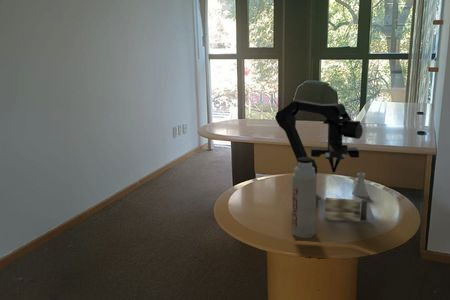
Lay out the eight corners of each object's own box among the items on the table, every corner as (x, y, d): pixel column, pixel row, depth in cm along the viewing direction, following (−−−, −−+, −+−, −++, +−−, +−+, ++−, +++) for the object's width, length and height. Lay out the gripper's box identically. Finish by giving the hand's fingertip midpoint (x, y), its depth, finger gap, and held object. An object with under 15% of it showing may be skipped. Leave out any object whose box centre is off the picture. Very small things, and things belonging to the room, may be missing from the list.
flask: (366, 192, 178) (367, 171, 175) (370, 199, 171) (371, 176, 168) (349, 192, 179) (350, 171, 176) (352, 198, 172) (354, 176, 169)
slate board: (319, 222, 151) (319, 219, 150) (317, 201, 170) (318, 199, 169) (375, 225, 147) (376, 222, 147) (367, 203, 166) (367, 201, 166)
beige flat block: (359, 214, 153) (359, 200, 151) (359, 216, 151) (360, 201, 150) (325, 212, 156) (325, 197, 155) (325, 213, 155) (325, 199, 153)
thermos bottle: (295, 241, 137) (296, 162, 130) (289, 230, 145) (290, 155, 138) (317, 239, 138) (320, 161, 131) (311, 229, 146) (313, 154, 138)
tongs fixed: (365, 217, 151) (366, 200, 149) (367, 221, 148) (368, 203, 146) (324, 215, 154) (325, 198, 152) (325, 219, 151) (325, 202, 149)
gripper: (311, 139, 156) (310, 177, 160) (362, 140, 153) (359, 179, 157) (311, 133, 167) (310, 169, 171) (358, 133, 163) (356, 170, 167)
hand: (333, 172), depth 166 cm, fingers closed
